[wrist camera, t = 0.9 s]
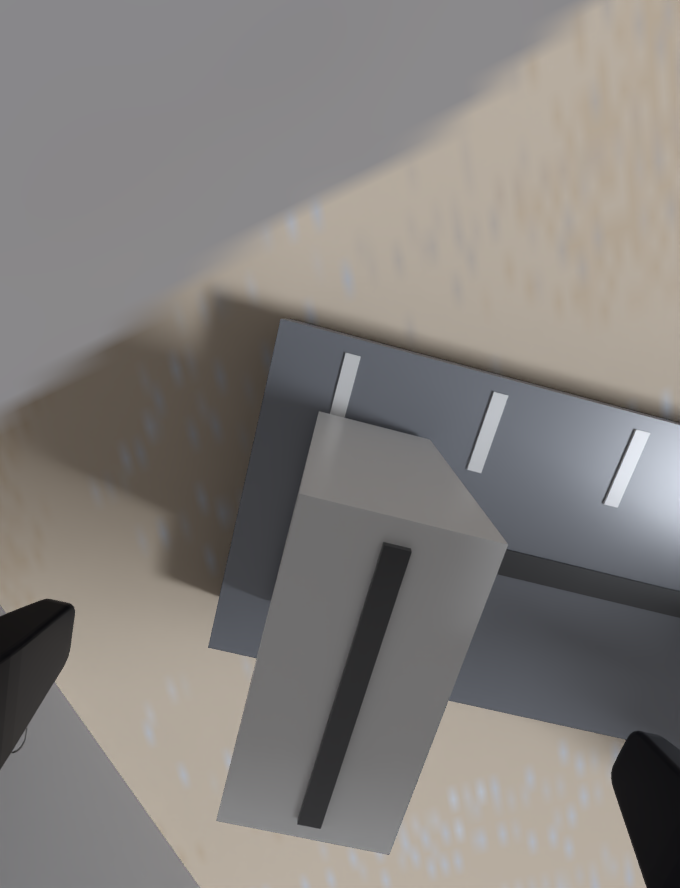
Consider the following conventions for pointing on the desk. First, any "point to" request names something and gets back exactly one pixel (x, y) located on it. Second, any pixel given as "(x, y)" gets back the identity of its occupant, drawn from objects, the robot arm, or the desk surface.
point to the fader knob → (360, 638)
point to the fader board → (497, 525)
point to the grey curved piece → (75, 813)
